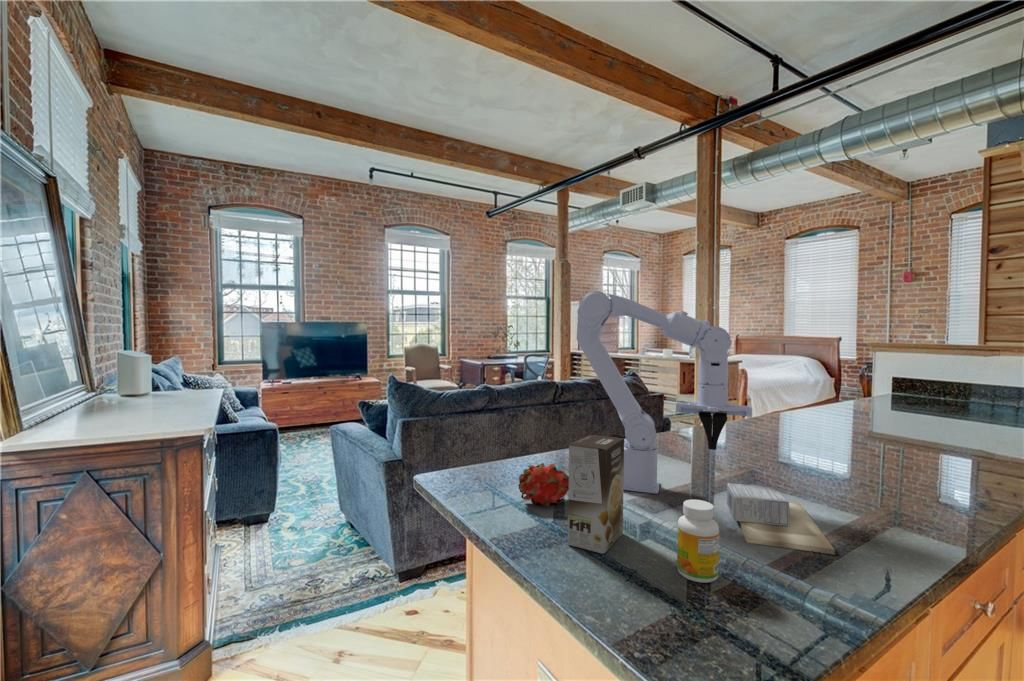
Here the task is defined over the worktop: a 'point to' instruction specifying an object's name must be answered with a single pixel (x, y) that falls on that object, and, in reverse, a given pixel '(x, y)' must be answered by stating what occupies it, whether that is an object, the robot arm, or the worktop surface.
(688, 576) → the supplement bottle
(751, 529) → the board
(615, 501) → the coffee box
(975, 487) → the worktop surface
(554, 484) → the dragon fruit
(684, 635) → the worktop surface
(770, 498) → the medicine box
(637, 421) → the robot arm
